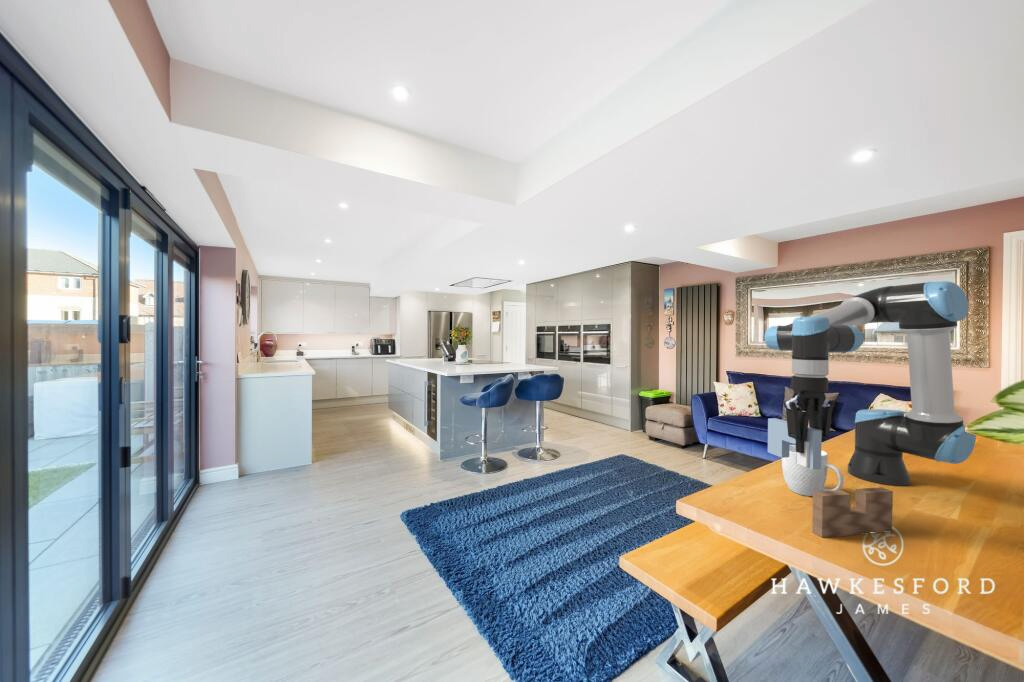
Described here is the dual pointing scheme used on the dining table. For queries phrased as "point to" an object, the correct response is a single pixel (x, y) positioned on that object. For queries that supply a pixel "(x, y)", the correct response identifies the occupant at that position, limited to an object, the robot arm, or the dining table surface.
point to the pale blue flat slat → (781, 442)
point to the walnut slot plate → (852, 512)
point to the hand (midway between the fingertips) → (808, 464)
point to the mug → (807, 474)
